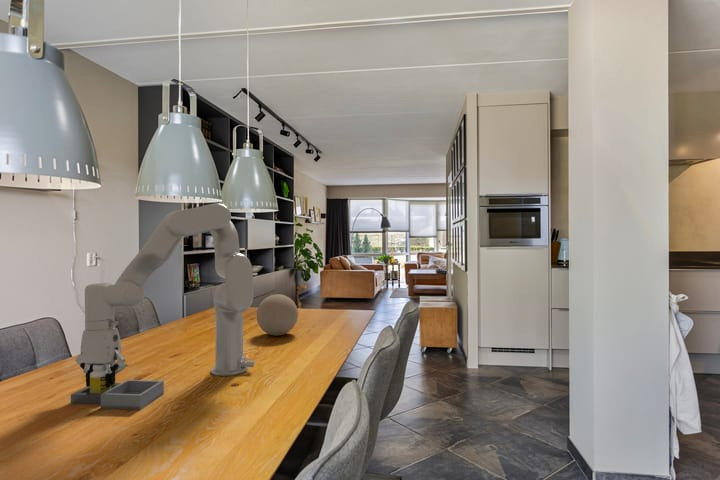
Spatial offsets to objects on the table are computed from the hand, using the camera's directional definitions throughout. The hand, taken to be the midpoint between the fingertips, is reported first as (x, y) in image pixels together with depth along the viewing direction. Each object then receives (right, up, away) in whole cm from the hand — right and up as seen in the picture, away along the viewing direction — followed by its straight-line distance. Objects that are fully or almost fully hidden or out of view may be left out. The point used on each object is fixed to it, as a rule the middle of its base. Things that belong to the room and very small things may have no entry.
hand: (100, 384), depth 122 cm
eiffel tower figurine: (-13, -4, +26) cm, 29 cm away
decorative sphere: (+37, -4, +79) cm, 88 cm away
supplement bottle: (0, -4, 0) cm, 4 cm away
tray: (+12, -4, -3) cm, 13 cm away
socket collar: (0, -4, 0) cm, 4 cm away
